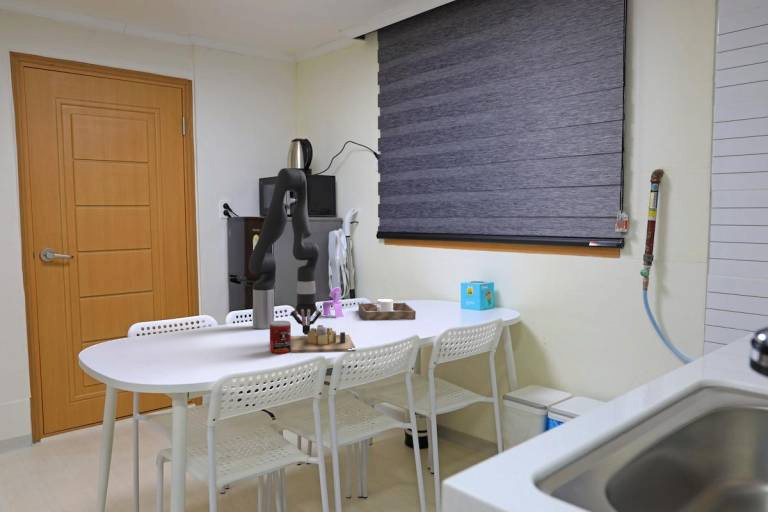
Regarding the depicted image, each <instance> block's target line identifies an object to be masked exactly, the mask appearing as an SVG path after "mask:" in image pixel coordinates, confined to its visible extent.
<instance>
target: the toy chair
mask: <svg viewBox="0 0 768 512" xmlns="http://www.w3.org/2000/svg"><path fill="white" fill-rule="evenodd" d="M341 294H342V288H341V287H340V286H336V287H334V288H332V289H330V292H329V295H330V298H332V299H333V300H332V299H331V300H327V301H322V302H323V303H322V309H323V311H322V316H323V315H328V314H332V312H331V306H333V309H334V313H335V314H334V315H335V316H334V318H335V319H338V317H339V318H343V317H344V314H343V312H342V311H343V310H342V309H343V304H342V301H340V295H341ZM328 316H329V315H328Z"/></svg>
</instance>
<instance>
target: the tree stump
mask: <svg viewBox="0 0 768 512" xmlns="http://www.w3.org/2000/svg"><path fill="white" fill-rule="evenodd" d="M376 303H377V304H373V305H377V306H376V307H377V311H376V312H381V311H393V303H394V300H393V299H388V298H383V299H382V298H380V299H379V298H378V299H377V300H376Z"/></svg>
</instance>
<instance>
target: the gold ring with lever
mask: <svg viewBox="0 0 768 512" xmlns="http://www.w3.org/2000/svg"><path fill="white" fill-rule="evenodd" d="M318 327H324V325H322V324H318V325H317V326H316V328H315V327H312V328H311V327H310V331H309V332H308V335H307V336H308V343H310V344H315V345H316V344H318V345H326V344H332V343H336V335H337V332H336V331H335V330H333V327H326V328H327V334H324V335H318V334H317V328H318Z"/></svg>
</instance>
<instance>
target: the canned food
mask: <svg viewBox="0 0 768 512" xmlns="http://www.w3.org/2000/svg"><path fill="white" fill-rule="evenodd" d="M291 324H292V323H291V322H290V321H288V320H274V321H273V322H271V323H270V328H269V351H270V353H271V354H274V355H284V354H289V353H291V336H292V333H291V331H292V330H291V326H292V325H291Z"/></svg>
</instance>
